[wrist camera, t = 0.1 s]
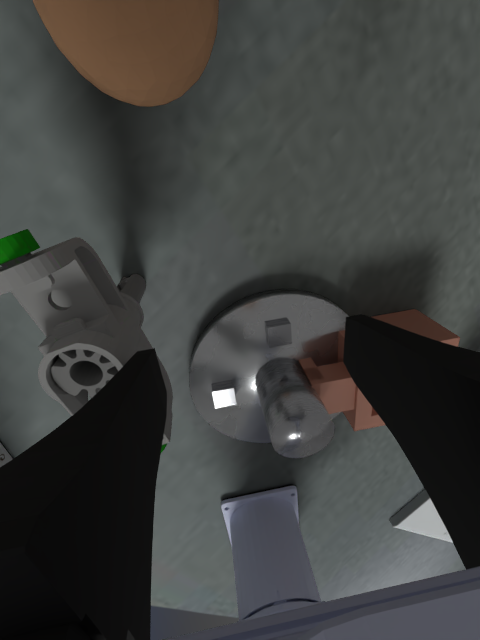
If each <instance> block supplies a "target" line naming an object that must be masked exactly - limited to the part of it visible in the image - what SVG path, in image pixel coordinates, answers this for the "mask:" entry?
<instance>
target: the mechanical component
mask: <svg viewBox="0 0 480 640" xmlns="http://www.w3.org/2000/svg"><path fill="white" fill-rule="evenodd" d="M38 248H40V246H39V245H38V243H37V242H36V240H35V239H34V237H33V236H32V234H31V233H30V232H29V230H28V229H26V230H23V231H20V232H18V233H15V234H12V235H10V236H7V237H4V238H2V239H0V265H1V266H2V267H0V295H2V294H5V293H7V292H10V291H11V292H12V294H13V295H14V296H15V298H16V299H17V300H18V301H19V303H20V304H21V305H22V307H23V308H24V309H25V310H26V312H27V313H28V314H29V315H30V317H31V318H32V319H33V321H34V322H35V323H36V324H37V326H38V327H39V328H40V329H41V331H42V332H43V333H44V335H45V336H46V337H47V338H46V339H45V340H44V341H43V342H42V343H41V345H40V346H39V347H38V349H39V350H40V351H41V352H42V354H43V355H44V357H43V359H42V360H41V362H40V365H39V368H38V377H39V381H40V384H41V385H42V387H43V389H44V390H45V391H46V393H47V394H48V395H49V396H50V397H52V398H53V399H54V400H56V401H57V402H59V403H61V404H62V405H63V407H64V408H65V409H66V410H67V411H68V412H69V414H70V415H71V416H73V415H74V414H75V413H76V412H77V411H78V410H80V409H81V408H82V407H83V406H84V405H85V404H86V403H87V402H88V393H89V395H90V397H91V398H92V397H93V396H94V395H96V394H97V393H98V392H99V391H100V390H101V389H102V388H103V387H104V386H105V385H106V384H107V383H108V382H109V381H110V380H111V379H112V378H113V376H114V375H115V374H116V373H117V372H118V371H119V370H120V369H121V368H122V367H123V366H124V365H125V364H126V363H127V361H128V360H129V359H130V358H131V357H132V356H133V355H134V354H135V353H136V352H137V351H141V350H147V349H153V348H152V346H151V344H150V343H149V341H148V339H147V338H146V336H145V334H144V333H143V331H142V329H141V326H142V323H143V318H144V316H143V311H142V308H141V306H140V305H139V303H140V301H141V299H142V296H143V294H144V291H145V289H146V282H145V280H144V278H143V277H142V276H140V275H138V274H132V275H131V276H130V277H129V278H126V277H123V278H122V280H121V281H120V283H119V284H118V286H117V287H116V285H115V283H114V282H113V280H112V278H111V276H110V275H109V273H108V271H107V270H106V268H105V266H104V265H103V263H102V261H101V259H100V258H99V256H98V255H97V253H96V252H95V251H94V249H93V248H92V247H91V246H90V245H89V244H88V243H87V242H86V241H84V240H83V239H81V238H77V237H76V238H72V239H70V240H67V241H65V242H62V243H60V244H57V245H54V246H52V247H49V248H47V249H44V250H42V251H39V252H37V253H34V254H31V253H30V252H32V251H34V250H36V249H38ZM157 359H158V362H159V366H160V369H161V373H162V376H163V380H164V383H165V387H166V390H167V415H166V423H165V429H164V436H163V442H162V448H161V452H162V451H163V450H164V449H165V447H166V445H167V443H169V442H170V436H171V425H172V411H171V409H172V398H173V396H172V388H171V383H170V380H169V377H168V375H167V372H166V370H165V368H164V367H163V365H162V363H161V361H160V360H159V358H158V356H157Z"/></svg>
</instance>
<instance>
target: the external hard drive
mask: <svg viewBox="0 0 480 640" xmlns="http://www.w3.org/2000/svg"><path fill="white" fill-rule="evenodd" d="M389 521H390V522H391V524H392V526H393V527H396V528H399V529H403V530H407V531H411V532H414V533H418V534H422V535H426V536H429V537H433V538H437V539H441V540H445V541H449V542H452V543H453V541H452V539H451V537H450V535H449V533H448V531H447V529H446V527H445V525H444V523H443V522H442V520H441V518H440V516H439V514H438V512H437V510H436V508H435V506H434V504H433V503H432V501H431V499H430V497H429V495H428V493H427V491H426V490H424V491H422V492H421V493H420V494H419V495H418V496H416V497H415V498H414V499H413V500H412V501H411V502H409V503H408V504H407V505H406V506H405V507H403V508H402V509H401V510H400V511H399V512H398V513H396V514H395V515H394V516H393V517H392V518H390V519H389Z"/></svg>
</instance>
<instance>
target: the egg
mask: <svg viewBox="0 0 480 640" xmlns="http://www.w3.org/2000/svg"><path fill="white" fill-rule="evenodd" d="M33 3H34V5H35V7H36V9H37V11H38V13H39V15H40V17H41V19H42V21H43V23H44V25H45V27H46V28H47V30H48V32H49V33H50V35H51V37H52V39H53V40H54V42H55V44H56V45H57V47H58V48H59V50H60V51H61V52H62V53H63V54H64V56H65V57H66V58H67V59H68V60H69V61H70V63H71V64H72V65H73V66H74V67H75V68H76V70H77V71H78V72H79V73H80V74H81V75H82V76H83V77H84V78H86V79H87V80H88V81H89V82H91V83H92V84H93V85H94V86H95V87H97V88H98V89H99V90H100V91H102V92H103V93H105V94H107V95H109V96H111V97H113V98H115V99H117V100H120V101H123V102H126V103H129V104H133V105H136V106H148V107H153V106H158V105H163V104H167V103H169V102H171V101H173V100H175V99H177V98H179V97H181V96H182V95H183V94H184V93H185V92H186V91H187V90H188V89H189V88H190V87H191V86H192V85H193V84H195V83H196V82H197V81H198V79H199V78H200V76H201V74H202V73H203V71H204V69H205V67H206V65H207V63H208V60H209V58H210V55H211V51H212V48H213V44H214V41H215V37H216V33H217V21H218V4H219V0H33Z"/></svg>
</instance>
